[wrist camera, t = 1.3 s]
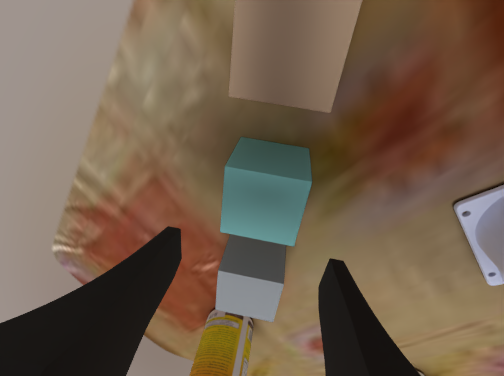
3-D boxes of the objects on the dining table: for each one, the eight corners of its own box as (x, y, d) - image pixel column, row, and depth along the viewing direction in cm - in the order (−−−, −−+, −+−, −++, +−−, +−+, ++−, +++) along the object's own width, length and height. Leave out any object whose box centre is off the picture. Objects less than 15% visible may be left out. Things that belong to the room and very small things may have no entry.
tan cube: (346, -4, 14) (367, -20, 10) (322, 92, 16) (330, 112, 12) (255, -16, 14) (237, -36, 10) (246, 80, 17) (228, 96, 13)
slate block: (286, 238, 23) (283, 284, 19) (277, 274, 26) (272, 322, 22) (232, 227, 24) (218, 270, 19) (228, 264, 26) (215, 309, 22)
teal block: (309, 148, 19) (312, 182, 14) (294, 203, 21) (293, 246, 17) (241, 136, 19) (225, 166, 15) (235, 192, 22) (220, 232, 17)
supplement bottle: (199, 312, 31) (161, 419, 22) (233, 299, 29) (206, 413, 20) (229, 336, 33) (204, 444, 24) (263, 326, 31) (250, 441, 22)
